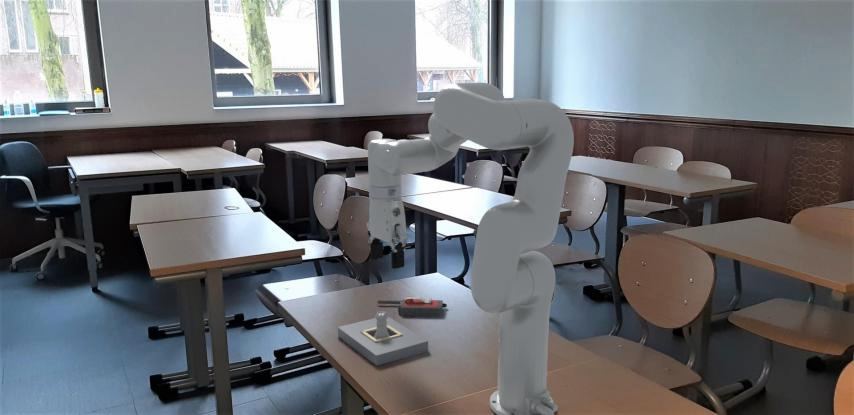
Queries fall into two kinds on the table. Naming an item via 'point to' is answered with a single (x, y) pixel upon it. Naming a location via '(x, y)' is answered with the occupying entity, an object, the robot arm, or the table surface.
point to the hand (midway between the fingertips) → (387, 262)
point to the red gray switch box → (417, 306)
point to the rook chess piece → (381, 325)
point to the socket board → (382, 341)
